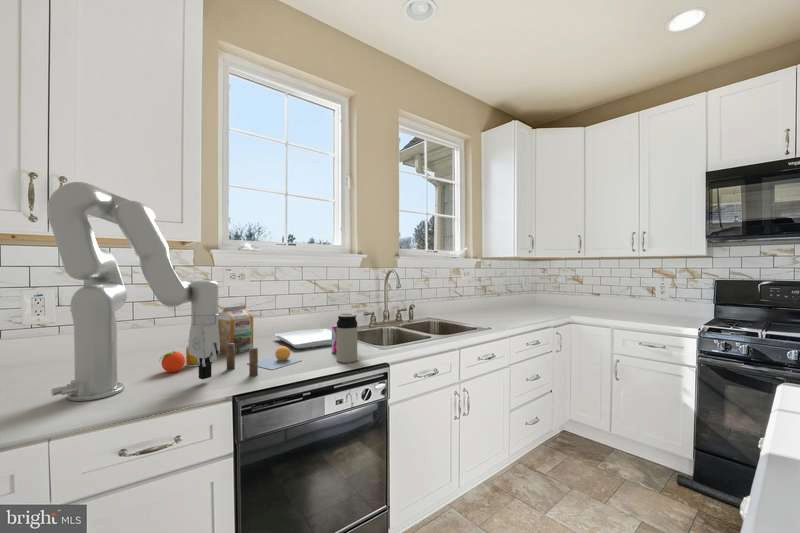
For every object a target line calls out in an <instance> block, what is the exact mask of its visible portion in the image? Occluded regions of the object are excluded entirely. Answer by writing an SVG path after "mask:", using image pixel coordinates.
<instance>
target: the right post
mask: <svg viewBox="0 0 800 533" xmlns="http://www.w3.org/2000/svg"><path fill="white" fill-rule="evenodd" d="M258 350H259V348H258V347H253V348H250V349H249V351H248V354H249V356H248V358H249V359H248V360H249V362H248V363H249V364H248V366H249V367H248V368H249V376H250V377H255V376H256V377H257V376H258V375H259V370H258V369H259V367H258V360H259V355H258V354H259V353H258V352H259V351H258Z"/></svg>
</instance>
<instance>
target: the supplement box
mask: <svg viewBox="0 0 800 533" xmlns="http://www.w3.org/2000/svg"><path fill="white" fill-rule="evenodd" d="M331 330H332V345H331V354H334V355H335V354H336V355H337V324H334V325H333V326H331Z"/></svg>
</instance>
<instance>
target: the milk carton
mask: <svg viewBox="0 0 800 533" xmlns="http://www.w3.org/2000/svg"><path fill="white" fill-rule="evenodd" d="M218 328H219V338H220V352H221V353H220V352H219V353H220V354H224V353H225V354H224V355H227V344H228V343H235V355H236V354H242V353H246V352H249V349H250V348H254V316H253V314H252V313H251V312H250V310H248V309H247V305H245V304H243V305H234V306H233V305H232V306H223V307H222V311H221V312H220V313H218ZM241 352H242V353H241Z"/></svg>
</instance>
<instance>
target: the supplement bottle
mask: <svg viewBox="0 0 800 533" xmlns="http://www.w3.org/2000/svg"><path fill="white" fill-rule="evenodd" d="M187 342H188V343H189V338H188V341H187ZM185 350H186V351H185V356H186V357H185V365H186V367H190V368H194V367H199V366H198V362H197V358H195V357H194V356H192V355H190V354H189V344H187V345H186V347H185Z"/></svg>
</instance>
